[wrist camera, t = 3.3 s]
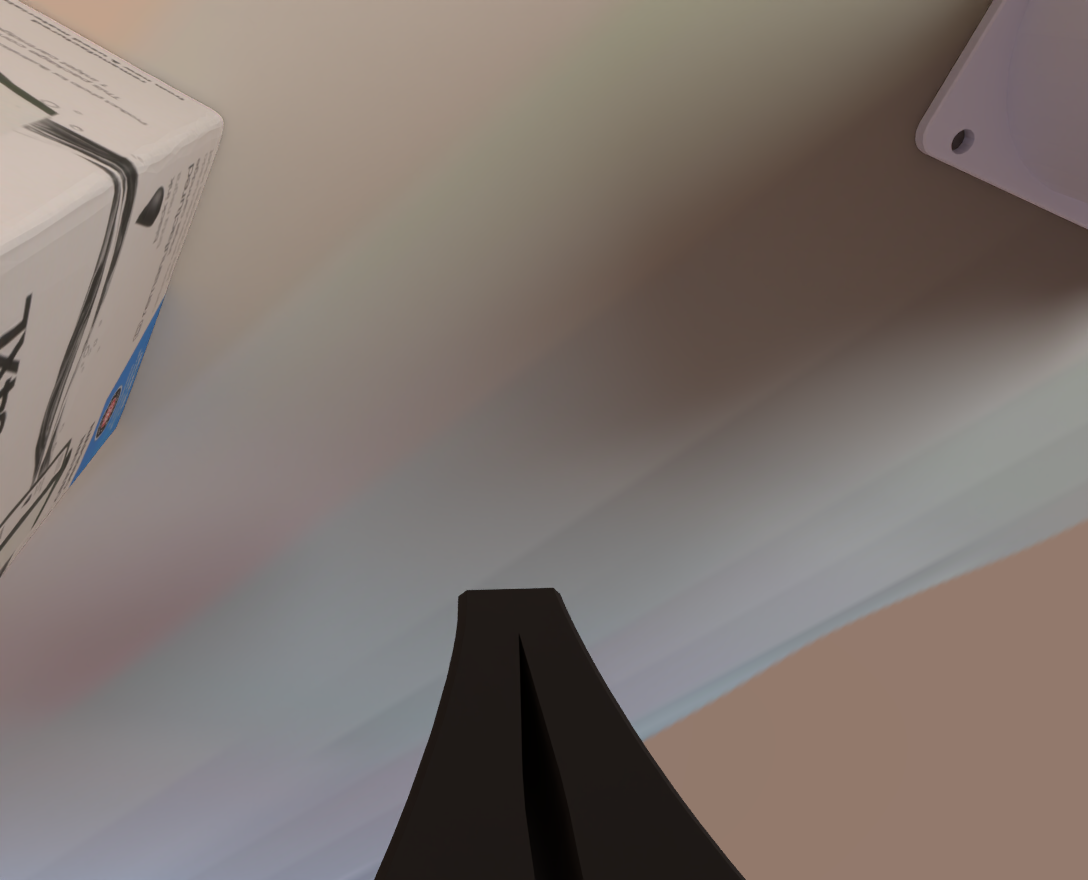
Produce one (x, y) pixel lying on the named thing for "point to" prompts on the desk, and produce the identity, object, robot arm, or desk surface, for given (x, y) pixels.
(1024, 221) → the desk surface
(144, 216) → the ink box
